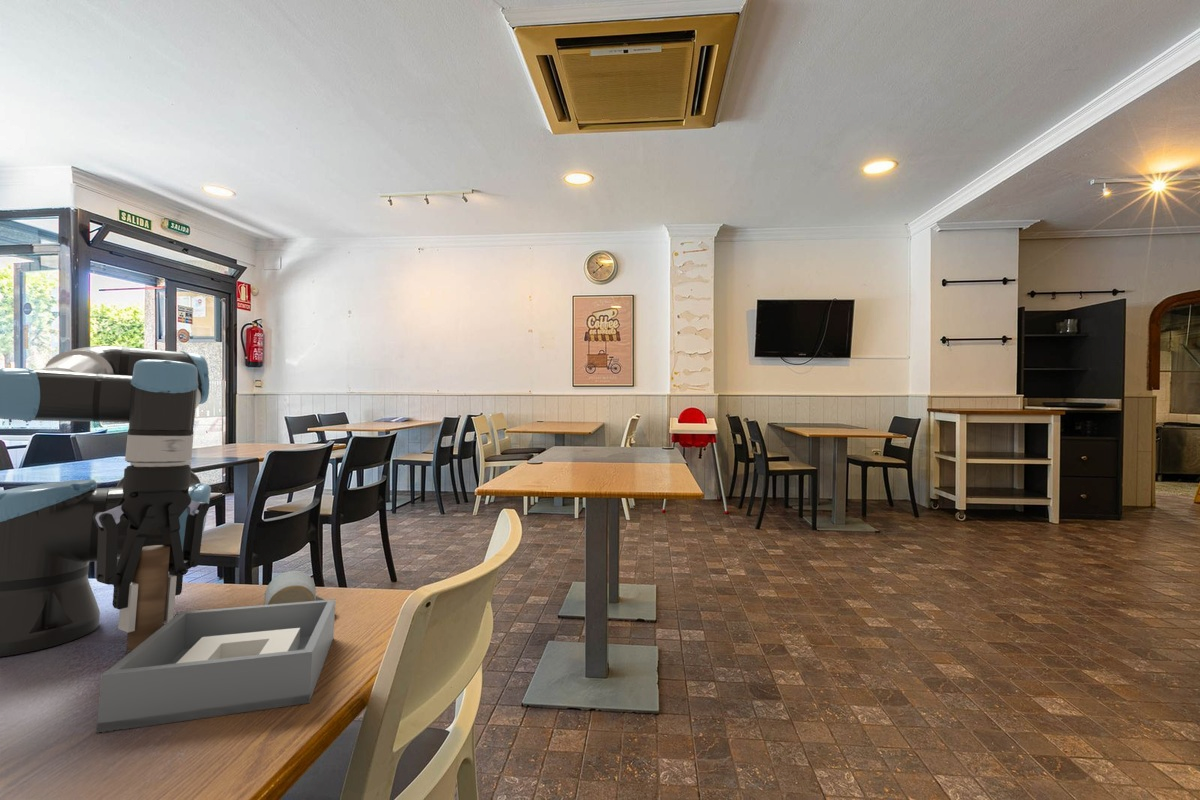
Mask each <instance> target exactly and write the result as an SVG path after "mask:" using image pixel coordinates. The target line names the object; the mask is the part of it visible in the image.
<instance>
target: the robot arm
mask: <svg viewBox="0 0 1200 800" xmlns="http://www.w3.org/2000/svg"><path fill="white" fill-rule="evenodd" d="M209 393H210V377H209V366H208V363H207V360H206V358H205V357H204V356H203V355H201V354H199V353H192V352H187V351H181V350H180V351H173V350H171V351H170V350H163V349H152V348H142V347H141V348H140V347H131V346H130V347H129V346H123V345H122V346H121V345H95V346H85V347H79V348H75V349H74V348H73V349H69V350H66V351H63V352H61V353H57V354H56V355H54V356H53V357H52V358H50V359H49V360H48V361H47V363H46V364H45V366H44V367H43V368H40V369H36V368H35V369H34V368H30V367H23V368H20V367H19V368H17V367H15V368H14V367H4V368H0V419H1V420H13V421H14V420H15V421H16V420H17V421H24V422H33V421H41V422H42V421H48V422H50V421H51V422H52V421H53V422H94V423H95V422H96V423H128V430H127V435H126V438H127V439H126V446H125V456H124V457H125V458H124V460H125V462H127V463H130V465H127V466H126V467H125V468H124V470H123V471H124V472H123V477H122V478H121V479H120V480H119V482H118V483H117V485H116V487H101V488H100V487H99V488H98V484H97V482H96V480H95V479H88V478H87V479H77V480H76V479H74V480H65V481H57V482H56V481H55V482H48V483H47V482H46V483H39V484H31V485H25V486H18V487H14V488H9V489H4V490H0V658H1V657H9V656H14V655H19V654H24V653H30V652H34V651H39V650H43V649H44V650H45V649H47V648H52V647H55V646H59V645H62V644H66V643H69V642H71V641H74V640H77V639H79V638H81V637H82V638H83V637H84V636H86V635H87V636H88V634H91V633H92V632H95V630H96V629H97V628H98V627H99V626H100V617H101V612H100V608H99V605H98V602H97V600H96V597H95V594H94V591H93V588H92V587H91V586H92V585H91V583H90V581H89V569H90V563H92V562H96V581H97V582H99V583H102V584H105V585H107V586H108V585H109V586H110V585H112V586H113V594H112V606H113V608H114V609H117V610H119V615H118V628H117V629H118V630H119V631H123V632H124V633H127V632H128V633H129V632H132V631H135V621H136V608H137V596H138V584H136V583H132V580H133V576H134V573H135V570H136V567H137V564H138V561H139V557H140V554H141V551H142V548H143V547H145V546H153V545H167V546H170V556H169V569H168V582H167V595H166V608H165V620H164V622H166V623H167V622H169V621H170V620H171V619H172V618H174V617H175V604H176V603H175V602H176V596H180V595H181V593H182V591H183V581H184V576H185V575H186V574H187V573H188V572H189V570H190V569H191V568H196V567H198V566H199V563H200V555H201V547H202V540H203V538H204V537H203V536H204V532H205V527H206V523H207V515H208V512H209V510H210V508H211V506H210V500H211V493H212V486H211V485H210V484H205V483H204V482H202V483H201V480H200V478H199V476H198V475H197V474H196V473H195V472H194V471H192V459H193V458H192V457H193V456H192V455H193V449H194V448H193V445H194V444H193V443H194V433H195V432H194V427H195V415H196V409H197V408H198V406H199V405H202V404H205V403H206V402H207V401H208V399H209Z"/></svg>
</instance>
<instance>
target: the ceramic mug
mask: <svg viewBox="0 0 1200 800" xmlns="http://www.w3.org/2000/svg"><path fill="white" fill-rule="evenodd" d="M316 589H317V588H316V584H315V580H313V578H312V577H311V576H310V575H309V574H308V573H306V572H303V571H300V570H288V571H285V572H282V573H279V574H278V575H277V576H275V577H274V578H273V579H272V580H271V581H270V582H269V583H268V585H267V587H266V588H265V592H264V605H271V604H283V603H295V602H308V601H320V600H326V599H325V598H323V597H321V596H318V595H316V592H317V591H316Z"/></svg>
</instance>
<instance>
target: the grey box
mask: <svg viewBox="0 0 1200 800" xmlns="http://www.w3.org/2000/svg"><path fill="white" fill-rule="evenodd" d="M335 613H336V599H334V598H333V599H325V600H320V601H308V602H295V603H283V604H271V605H265V604H261V605H259V604H258V605H248V606H247V605H246V606H236V607H235V606H234V607H223V608H211V609H210V608H209V609H198V610H188V611H180V612H178V613H177V614H176V615H174V618H172V619H171V620H170V621H168V622H167V621H166V623H164V626H162V627H161V628H160V629H159V630H157V631H156V632H155V633H154V634H152V635H151V636H150V637H149V638H147V639H146V640H145V641H144V642H142V643H141V644H140V645H139V646H137V647H136V648H135V649H134V650H132V651H129V652H128V653H127V654H126V655H125V656H123V657H122V658H121V659H119V661H117V662H116V663H115V664H113V665H112V666H111V667H110V668H109V669H108V670H106V671H105V672H104V673H103V674H101V675H100V688H99V697H98V698H99V699H98V710H97V723H96V734H100V733H99V732H102V733H106V732H105V731H109V732H113V731H112V730H116V731H120V730H119V729H123V730H129V728H130V729H135V728H136V729H137V728H143V727H149V726H157V725H164V724H165V725H166V724H172V723H178V722H185V721H192V720H200V719H206V718H213V717H221V716H229V715H236V714H242V713H249V712H256V711H265V710H270V709H276V708H284V707H292V706H298V705H299V706H300V705H305V704H310V701H311V699H312V697H313V694H314V691H315V689H316V686H317V683H318V682H319V681H318V680H319V678H320V675H321V673H322V670H323V667H324V664H325V661H326V659H327V657H328V653H329V650H330V648H331V645H332V643H333V640H334V636H335V635H334V631H335Z"/></svg>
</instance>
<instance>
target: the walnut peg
mask: <svg viewBox="0 0 1200 800" xmlns="http://www.w3.org/2000/svg"><path fill="white" fill-rule="evenodd" d="M169 556H170V546H167V545H153V546H145V547H143V548H142V551H141V554H140V557H139V561H138V564H137V567H136V570H135V573H134V576H133V580H132V583H136V584H138V596H137V608H136V621H135V631H132V632H129V633H128V632H126V633H127V634H126V643H125V644H126V645H125V649H126V651H127V652H131V651H132V650H134V649H135V648H136V647H137V646H139V645H140V644H141V643H142V642H144V641H145V640H146V639H147V638H149V637H150V636H151V635H152V634H154V633H155V632H156V631H157V630H159V629H160V628H161V627H162V626H164V625H165V621H164V620H165V608H166V595H167V582H168V574H169V572H168V569H169Z"/></svg>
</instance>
